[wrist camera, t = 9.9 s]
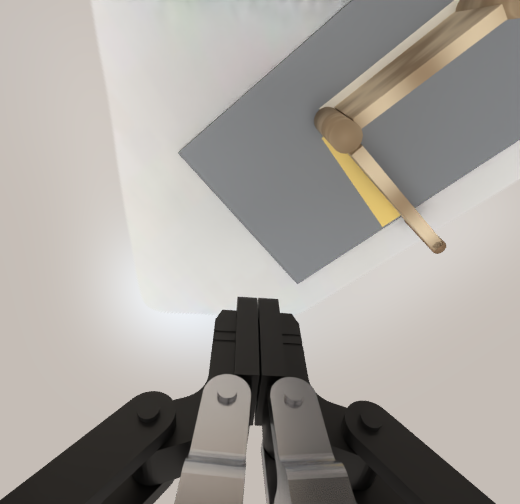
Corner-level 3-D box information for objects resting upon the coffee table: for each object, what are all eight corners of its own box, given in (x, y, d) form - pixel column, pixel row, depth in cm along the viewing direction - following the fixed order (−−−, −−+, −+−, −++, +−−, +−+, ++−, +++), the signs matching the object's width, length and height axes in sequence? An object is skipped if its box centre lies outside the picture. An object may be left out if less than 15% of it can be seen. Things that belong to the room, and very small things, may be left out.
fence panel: (333, 138, 32) (350, 156, 26) (343, 128, 31) (363, 144, 26) (408, 226, 36) (436, 256, 31) (418, 218, 36) (448, 247, 31)
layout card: (473, -107, 25) (476, -109, 24) (550, 116, 32) (554, 117, 32) (178, 152, 32) (177, 153, 32) (296, 282, 40) (297, 284, 40)
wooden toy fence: (472, -15, 27) (544, -35, 21) (482, 13, 28) (555, 2, 21) (308, 117, 31) (325, 135, 25) (322, 137, 32) (341, 159, 26)
